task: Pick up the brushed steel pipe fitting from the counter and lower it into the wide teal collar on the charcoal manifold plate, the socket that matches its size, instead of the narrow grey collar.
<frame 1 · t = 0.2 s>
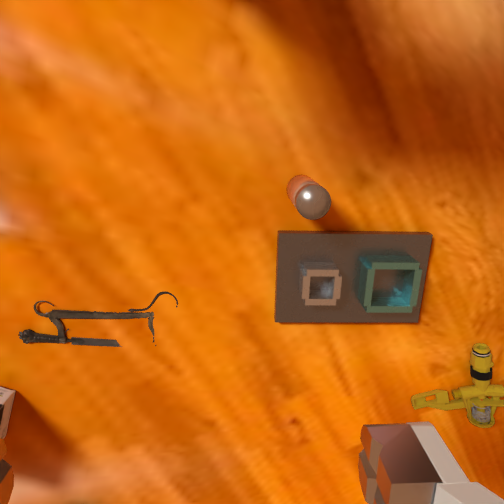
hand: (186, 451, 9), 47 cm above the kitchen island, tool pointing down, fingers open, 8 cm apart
sprinkler: (465, 380, 66), on the kitchen island
fitting: (300, 189, 54), on the kitchen island
manifold plate: (348, 276, 59), on the kitchen island
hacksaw: (100, 315, 60), on the kitchen island
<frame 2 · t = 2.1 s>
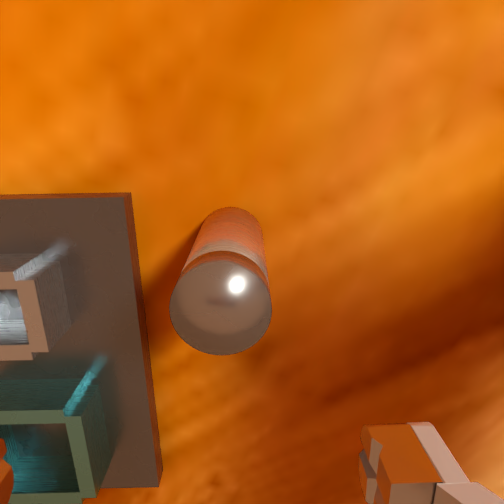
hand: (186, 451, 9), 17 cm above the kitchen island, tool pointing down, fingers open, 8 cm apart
fitting: (231, 237, 25), on the kitchen island
manifold plate: (48, 351, 27), on the kitchen island
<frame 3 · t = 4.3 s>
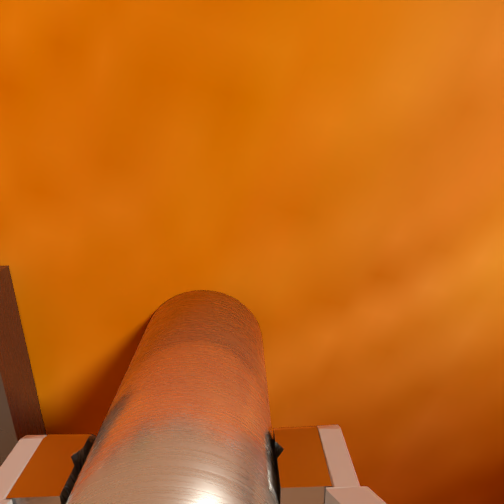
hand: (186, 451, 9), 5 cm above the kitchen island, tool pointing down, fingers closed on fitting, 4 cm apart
fitting: (204, 343, 13), on the kitchen island, touching gripper
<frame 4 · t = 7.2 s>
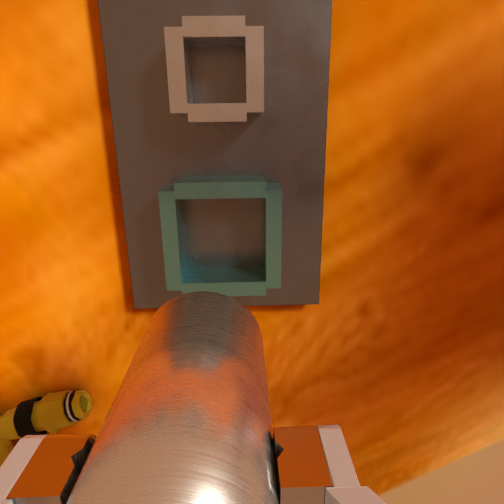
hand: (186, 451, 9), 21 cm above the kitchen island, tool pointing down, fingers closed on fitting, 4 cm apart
sprinkler: (7, 396, 34), on the kitchen island
fitting: (204, 344, 13), point 17 cm above the kitchen island, touching gripper
manifold plate: (222, 156, 28), on the kitchen island
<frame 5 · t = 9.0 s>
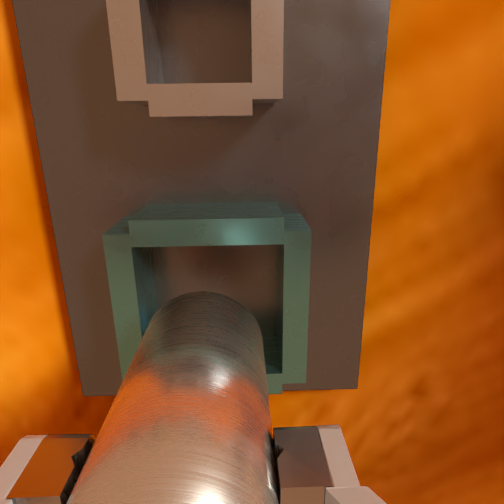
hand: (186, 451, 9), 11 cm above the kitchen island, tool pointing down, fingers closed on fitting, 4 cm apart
fitting: (204, 345, 13), point 7 cm above the kitchen island, touching gripper
manifold plate: (213, 170, 18), on the kitchen island
when the fingers open (7 cm above the kitchen island, at t = 10.6 s): fitting stays where it is, resting on manifold plate.
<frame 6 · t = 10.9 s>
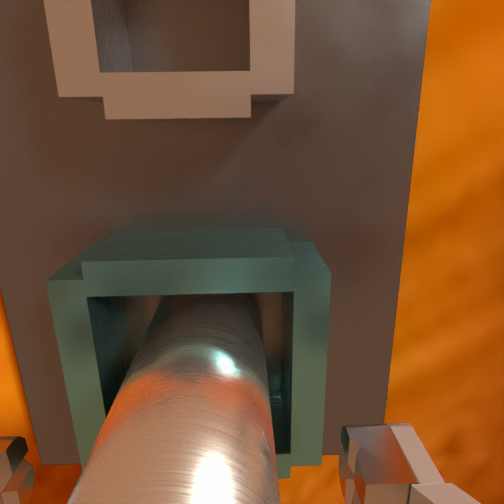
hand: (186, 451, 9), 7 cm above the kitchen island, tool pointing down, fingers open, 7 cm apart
fitting: (207, 330, 14), point 2 cm above the kitchen island, touching manifold plate
manifold plate: (201, 187, 14), on the kitchen island
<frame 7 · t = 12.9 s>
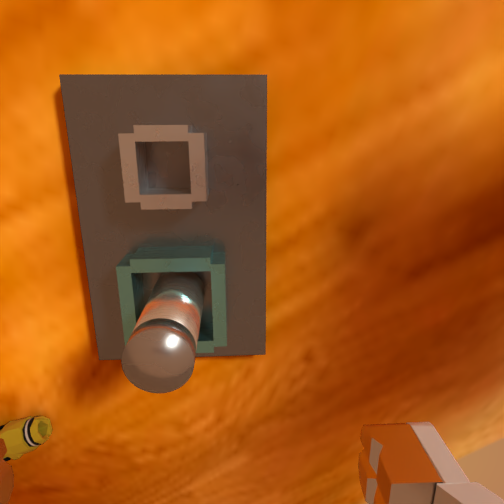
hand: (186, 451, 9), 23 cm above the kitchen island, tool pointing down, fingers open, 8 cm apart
fitting: (179, 291, 31), point 2 cm above the kitchen island, touching manifold plate
manifold plate: (177, 226, 31), on the kitchen island
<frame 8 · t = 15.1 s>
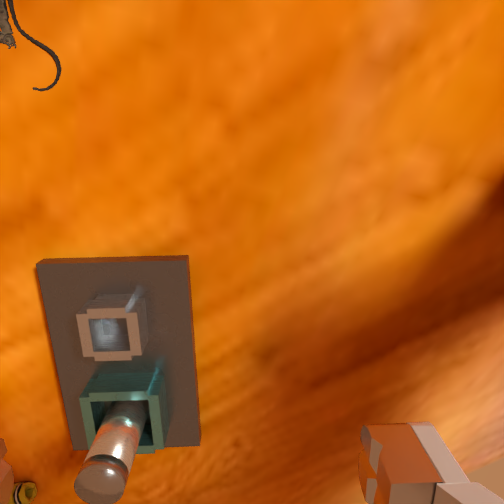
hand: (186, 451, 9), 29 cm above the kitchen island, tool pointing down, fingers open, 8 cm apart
fitting: (131, 403, 41), point 2 cm above the kitchen island, touching manifold plate
manifold plate: (129, 354, 41), on the kitchen island
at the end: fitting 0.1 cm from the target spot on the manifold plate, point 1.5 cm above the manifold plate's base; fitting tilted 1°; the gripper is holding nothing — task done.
